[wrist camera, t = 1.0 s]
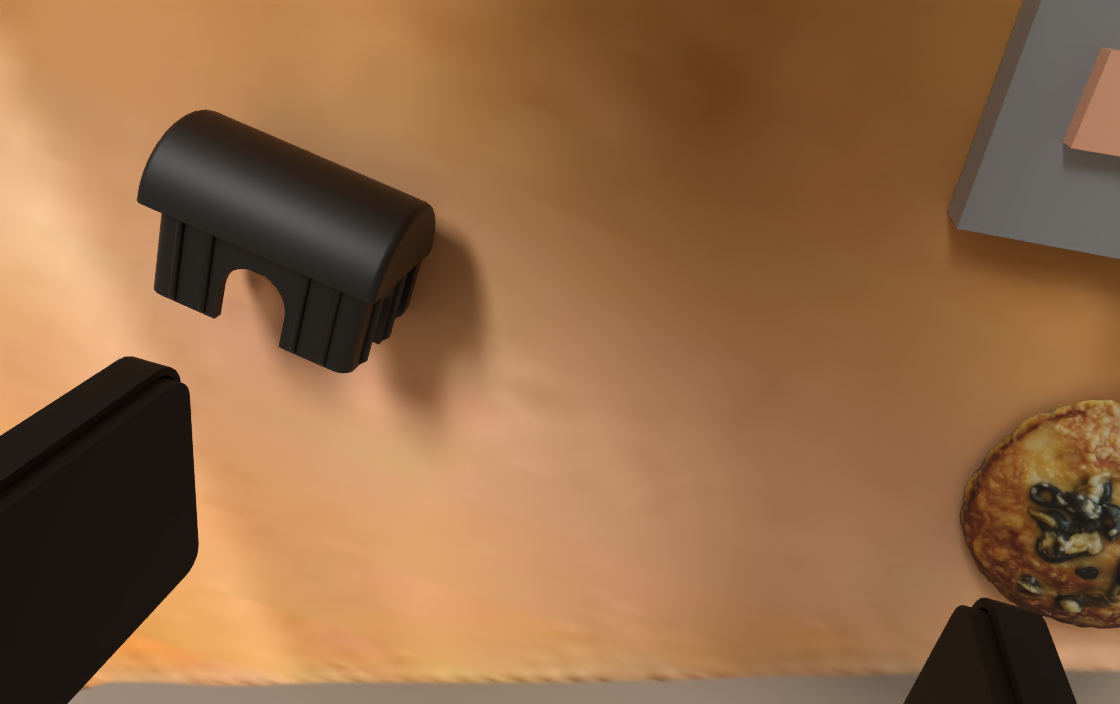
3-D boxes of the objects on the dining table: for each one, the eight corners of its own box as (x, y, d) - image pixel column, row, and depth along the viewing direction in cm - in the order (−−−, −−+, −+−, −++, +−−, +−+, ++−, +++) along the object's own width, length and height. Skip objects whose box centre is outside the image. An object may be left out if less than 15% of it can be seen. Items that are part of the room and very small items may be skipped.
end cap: (455, 182, 36) (391, 233, 30) (415, 320, 39) (350, 389, 33) (244, 92, 36) (139, 124, 30) (223, 236, 39) (125, 290, 34)
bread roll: (974, 618, 39) (1001, 691, 34) (934, 401, 36) (958, 448, 32) (1255, 592, 36) (1328, 669, 31) (1234, 350, 33) (1310, 395, 28)
